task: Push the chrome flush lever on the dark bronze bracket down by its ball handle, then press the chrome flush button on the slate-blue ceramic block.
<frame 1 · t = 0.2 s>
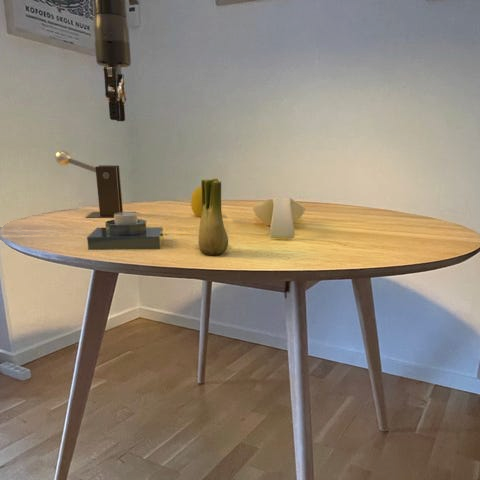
hand: (118, 120, 109), 21 cm above the table, tool pointing down, fingers open, 8 cm apart
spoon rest: (279, 229, 99), on the table
fennel bulb: (213, 254, 78), on the table
lever bracket: (112, 219, 108), on the table
flush button: (125, 218, 82), point 4 cm above the table, slide at 0.1 cm
flush lever: (85, 166, 103), point 12 cm above the table, hinge at 20.0°
button block: (127, 244, 84), on the table
lemon: (203, 221, 108), on the table
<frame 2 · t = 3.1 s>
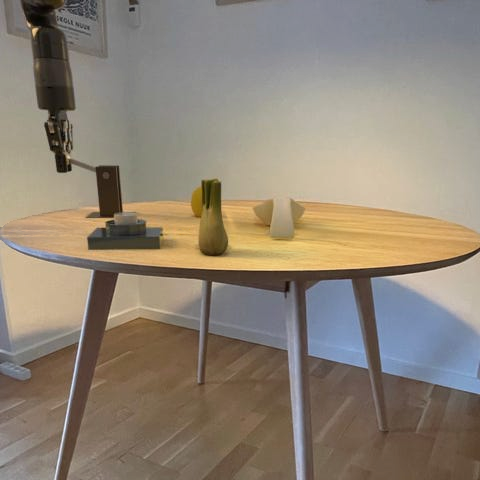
hand: (64, 171, 103), 11 cm above the table, tool pointing down, fingers closed on flush lever, 3 cm apart
flush lever: (85, 166, 103), point 12 cm above the table, hinge at 19.9°, touching gripper
everything else where it was.
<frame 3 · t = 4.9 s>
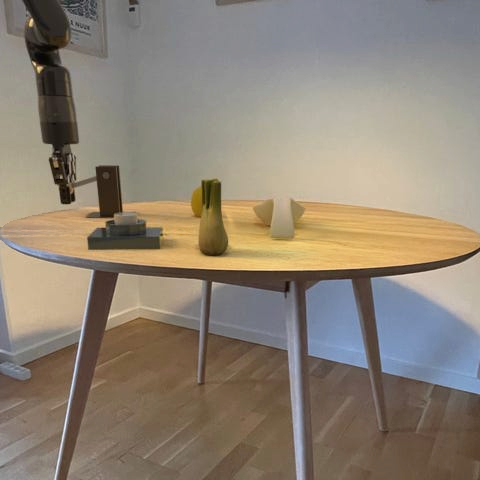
hand: (68, 202, 106), 4 cm above the table, tool pointing down, fingers closed on flush lever, 3 cm apart
flush lever: (86, 181, 104), point 8 cm above the table, hinge at -17.4°, touching gripper
everything else where it was.
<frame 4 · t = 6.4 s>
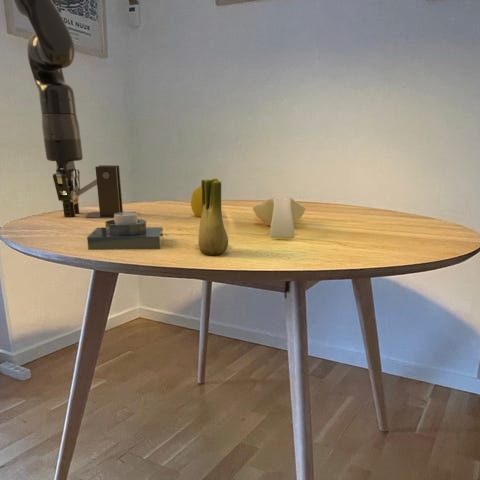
hand: (72, 217, 107), 1 cm above the table, tool pointing down, fingers open, 3 cm apart
flush lever: (89, 186, 105), point 7 cm above the table, hinge at -30.6°
everything else where it was.
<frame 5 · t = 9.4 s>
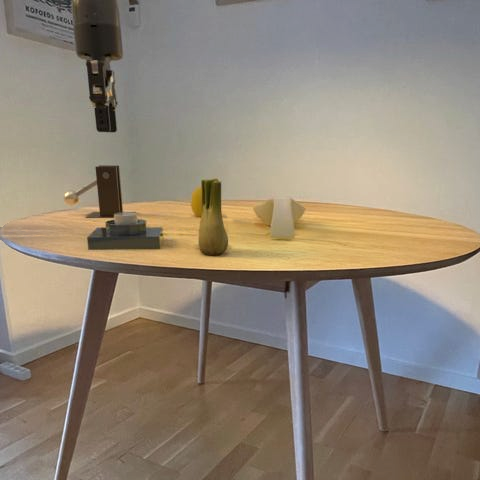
hand: (107, 132, 82), 19 cm above the table, tool pointing down, fingers open, 8 cm apart
nothing on the table moved.
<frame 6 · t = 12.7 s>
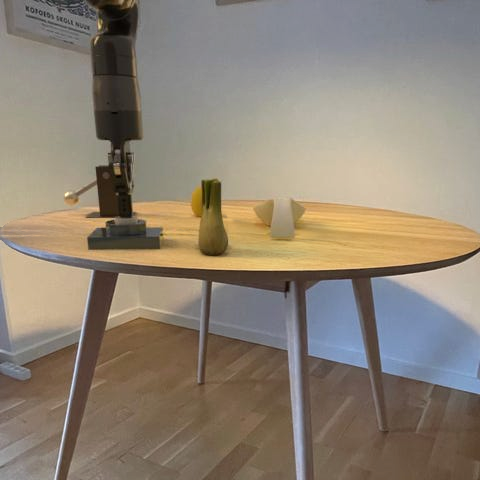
hand: (126, 217, 82), 5 cm above the table, tool pointing down, fingers closed
flush button: (126, 222, 82), point 4 cm above the table, slide at -0.5 cm, touching gripper
everything else where it was.
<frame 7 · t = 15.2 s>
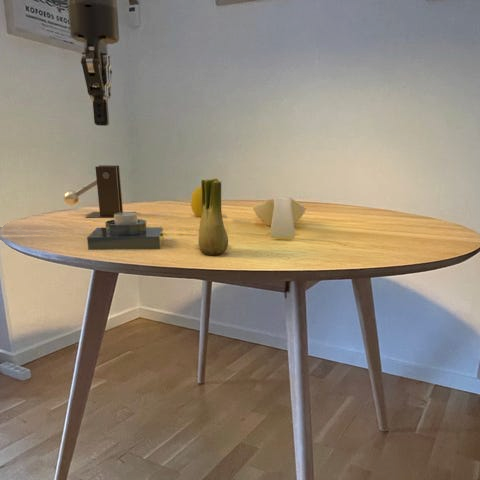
hand: (102, 125, 80), 20 cm above the table, tool pointing down, fingers closed
flush button: (125, 218, 82), point 4 cm above the table, slide at 0.1 cm
everything else where it was.
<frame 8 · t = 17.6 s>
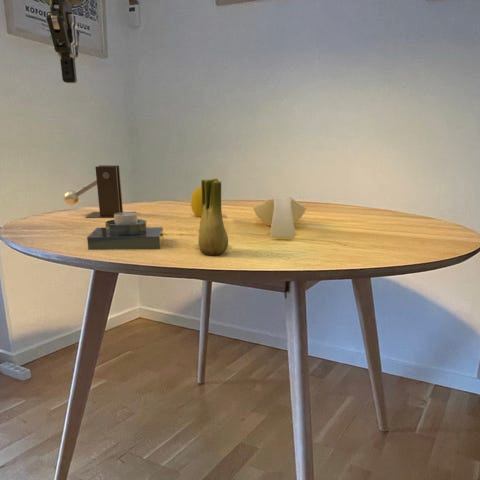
hand: (70, 82, 85), 27 cm above the table, tool pointing down, fingers closed
nothing on the table moved.
at the end: flush lever at -30° (first picture: +20°); flush button pushed in 1.1 cm at the most during the clip, back to where it started at the end; flush button slide at 0.1 cm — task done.
